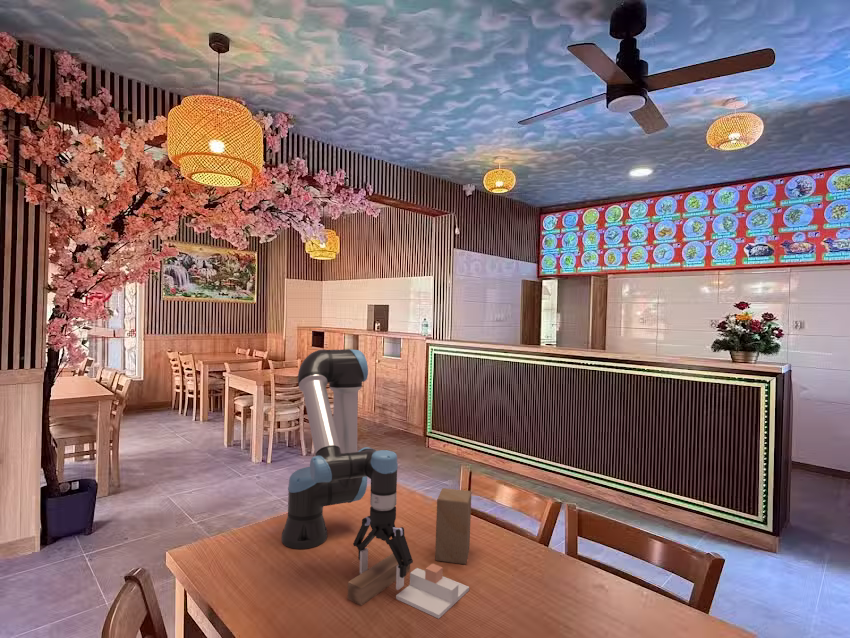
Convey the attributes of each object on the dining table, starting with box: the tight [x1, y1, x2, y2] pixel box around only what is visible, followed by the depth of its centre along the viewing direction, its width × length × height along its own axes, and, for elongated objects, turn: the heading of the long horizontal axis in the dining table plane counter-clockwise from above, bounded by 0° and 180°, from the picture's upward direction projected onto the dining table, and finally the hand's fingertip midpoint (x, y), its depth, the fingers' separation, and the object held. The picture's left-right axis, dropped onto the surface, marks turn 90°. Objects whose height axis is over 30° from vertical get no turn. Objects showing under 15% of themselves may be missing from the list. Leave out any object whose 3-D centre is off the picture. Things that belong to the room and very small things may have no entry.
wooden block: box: [434, 487, 472, 565], centre depth 156 cm, size 10×10×20 cm
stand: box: [395, 562, 470, 619], centre depth 134 cm, size 14×16×8 cm
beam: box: [347, 553, 411, 607], centre depth 139 cm, size 5×22×5 cm, turn 145°
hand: (381, 579), depth 138 cm, fingers open, 13 cm apart
